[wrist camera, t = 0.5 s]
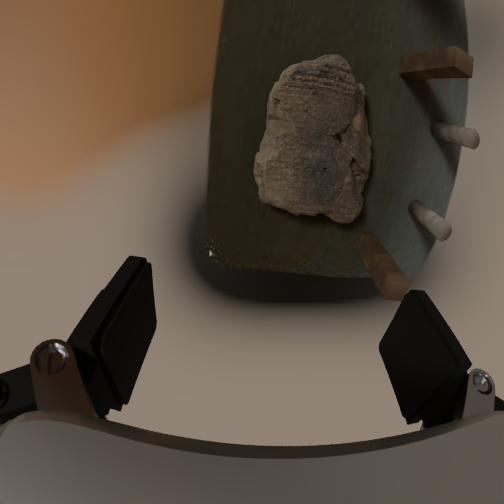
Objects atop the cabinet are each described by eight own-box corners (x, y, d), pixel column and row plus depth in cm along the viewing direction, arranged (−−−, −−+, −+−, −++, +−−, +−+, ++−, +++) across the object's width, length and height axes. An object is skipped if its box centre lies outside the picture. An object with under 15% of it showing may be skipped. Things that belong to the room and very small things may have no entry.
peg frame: (400, 57, 24) (456, 45, 13) (451, 84, 24) (510, 88, 14) (354, 246, 37) (384, 299, 27) (403, 255, 38) (440, 304, 27)
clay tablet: (270, 47, 25) (248, 202, 35) (273, 37, 21) (247, 216, 30) (380, 75, 26) (351, 217, 36) (398, 71, 22) (364, 232, 31)
